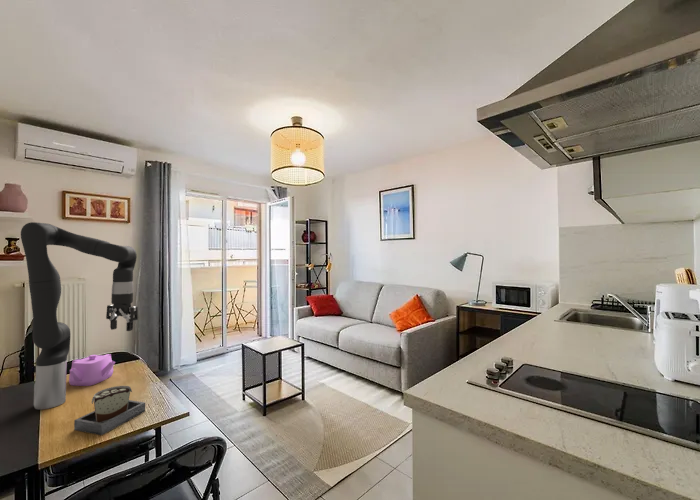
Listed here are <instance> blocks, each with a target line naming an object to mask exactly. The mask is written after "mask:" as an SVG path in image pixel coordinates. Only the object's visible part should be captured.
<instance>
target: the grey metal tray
mask: <svg viewBox="0 0 700 500" xmlns="http://www.w3.org/2000/svg"><path fill="white" fill-rule="evenodd" d="M144 412H146V402H144V401H138V400H131V399H129V403H128V410H127V411H125V412H123V413H121V414H119V415H118V416H116V417H114V418H112V419H110V420H108V421H105V422H102V423H99V422H96V417H95V410H93V411H90V412H89V413H87V414H85V415H82V416H81V417H78V418H76V419H74V421H73V422H74V424H73V425H74V427H73V428H74V429H73V430H74V431H78V432H82V433H89V434H93V435H96V436H97V435H98V436H103V435H105V434H107V433H108V432H111V431H112V430H114V429H116V428H118V427H119V426H122V425H123V424H125V423H127V422H128V421H130V420H132V419H134V418H135V417H136V418H137V416H139V415H142V414H143V413H144Z"/></svg>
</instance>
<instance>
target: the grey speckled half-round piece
mask: <svg viewBox="0 0 700 500" xmlns="http://www.w3.org/2000/svg"><path fill="white" fill-rule="evenodd" d="M131 393H133V391H132V388H131V386H129V385H117V386H116V385H115V386H111V387H108V388H104V389H101V390H99V391H97V392H96V393H94V395H93V397H92V399H91V404H93V406H94V411H95V417H96V422H99V423H102V422H105V421H108V420H110V419H112V418H114V417H116V416H118V415H119V414H121V413H123V412H125V411H127V410H128V403H129V400H130V395H131Z"/></svg>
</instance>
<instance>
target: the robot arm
mask: <svg viewBox="0 0 700 500" xmlns="http://www.w3.org/2000/svg"><path fill="white" fill-rule="evenodd" d="M20 239H21V244H22V248H23V252H24V255H25V260H26V267H27V274H28V287H29V294H30V303H31V310H32V342H33V344H34V345H35V346H36V347H37V348H39V349H41V350H40V353H39V354H38V356H37V357H36V361H35V382H34V385H33V407H34V409H35V410H47V409H51V408H56V407H58V406H60V405H62V404H64V403H66V398H67V393H66V392H67V371H68V370H67V369H68V368H67V367H68V364H67V363H68V355H69V352H70V348H71V347H70V346H71V329H70V326H68V324H66V323H64V322H60V321H58V316H57V311H58V306H59V303H60V299H61V297H62V296H61V295H62V284H61V283H62V282H61V276H60V273H59V271H58V269H56V267H55V266H54V263H52V261H51V260H50V257H49V254H48V246H60V247H66V248H70V249H74V250H76V251H78V252H80V253H82V254H87V255H90V256H94V257H99V258H100V257H101V258H103V259H106V260H108V261H112V262H116V263H117V267H116V268H114V270H113V271H112V284H111V298H110V299H111V300H110V301H111V302H110V303H111V304H108V305H107V306H106V312H105V313H106V314H105V319H106V320H109V321H110V325H109V327H110V330H111V331H113V330H117V328H118V318H119V317H123V318H124V319H125V320H126V332H130V331H133V329H134V322H135V321H138V318H139V314H138V312H139V311H138V306H136V305H134V306H132V303H133V302H134V270H135V267H136V262H137V257H138V255H137V252H136V250H135V248H134V247H132V246H129V245H118V244H114V243H111V242H109V241H107V240H106V241H105V240H102V239H98V238H94V237H90V236H85V235H81V234H77V233H74V232H72V231H68V230H66V229H63V228H60V227H58V226H56V225H53V224H50V223H45V222H35V221H33V222H32V221H31V222H27V223H25V224H24V225H23V226H22V227H21V229H20Z"/></svg>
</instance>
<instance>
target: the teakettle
mask: <svg viewBox="0 0 700 500" xmlns="http://www.w3.org/2000/svg"><path fill="white" fill-rule="evenodd" d="M115 364H116V361H114V360H112V354H111V353H110V354H109V353H107V354H104V355H101V354H100V355H99V354H91V355H88V356H86V357H84V358H80V359H78V358H77V359H73V360H72V362H71V368H70V369H69V377H68V383H69V385H70V386H79V387H81V386H82V387H84V386H85V387H89V386H94V385H96V384H98V383H101V382H103V381H106V380H107V379H109V378H111V377H112V376H113V373H114V366H115Z"/></svg>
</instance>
